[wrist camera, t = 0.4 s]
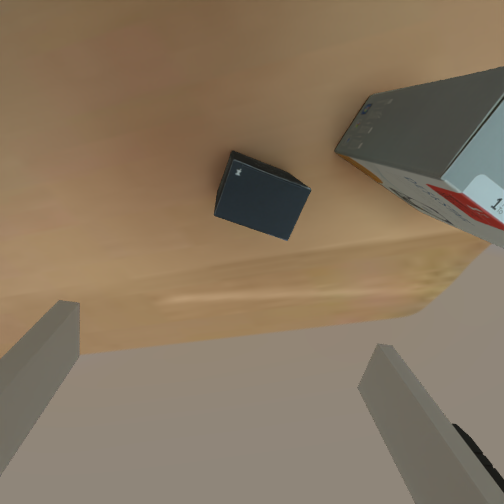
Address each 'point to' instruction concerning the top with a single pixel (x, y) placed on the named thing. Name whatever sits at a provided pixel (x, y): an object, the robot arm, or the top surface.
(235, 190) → the box
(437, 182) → the hard drive box
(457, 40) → the top surface
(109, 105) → the top surface
